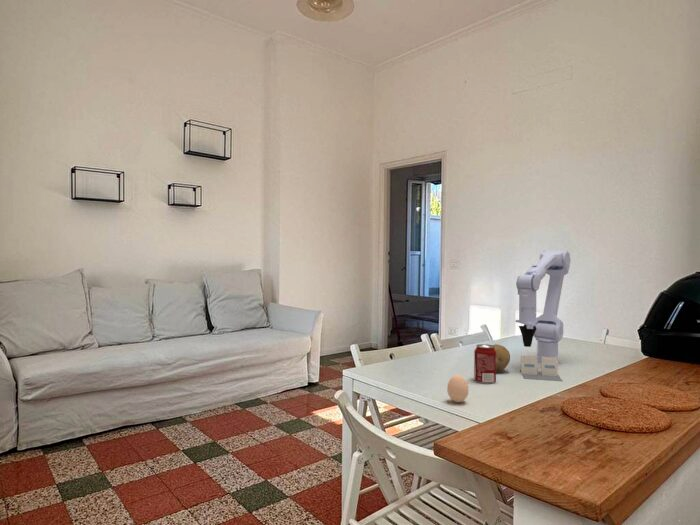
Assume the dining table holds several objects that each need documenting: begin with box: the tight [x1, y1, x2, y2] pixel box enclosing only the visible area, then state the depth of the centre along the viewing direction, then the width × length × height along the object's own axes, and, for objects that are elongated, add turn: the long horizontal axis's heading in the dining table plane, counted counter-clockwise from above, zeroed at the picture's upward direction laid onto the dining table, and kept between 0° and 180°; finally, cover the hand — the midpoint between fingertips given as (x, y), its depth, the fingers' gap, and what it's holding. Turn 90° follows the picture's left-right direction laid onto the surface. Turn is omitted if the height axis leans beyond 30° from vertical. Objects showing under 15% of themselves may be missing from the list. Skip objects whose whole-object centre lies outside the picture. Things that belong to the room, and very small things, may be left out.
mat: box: [519, 369, 564, 382], centre depth 155 cm, size 12×12×1 cm
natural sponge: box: [492, 344, 511, 373], centre depth 161 cm, size 9×9×10 cm
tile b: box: [540, 357, 559, 376], centre depth 156 cm, size 2×5×6 cm, turn 75°
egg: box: [446, 374, 469, 403], centre depth 127 cm, size 6×6×8 cm
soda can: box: [473, 343, 497, 385], centre depth 148 cm, size 7×7×12 cm
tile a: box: [520, 355, 538, 375], centre depth 157 cm, size 2×5×6 cm, turn 75°
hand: (527, 346), depth 162 cm, fingers closed
